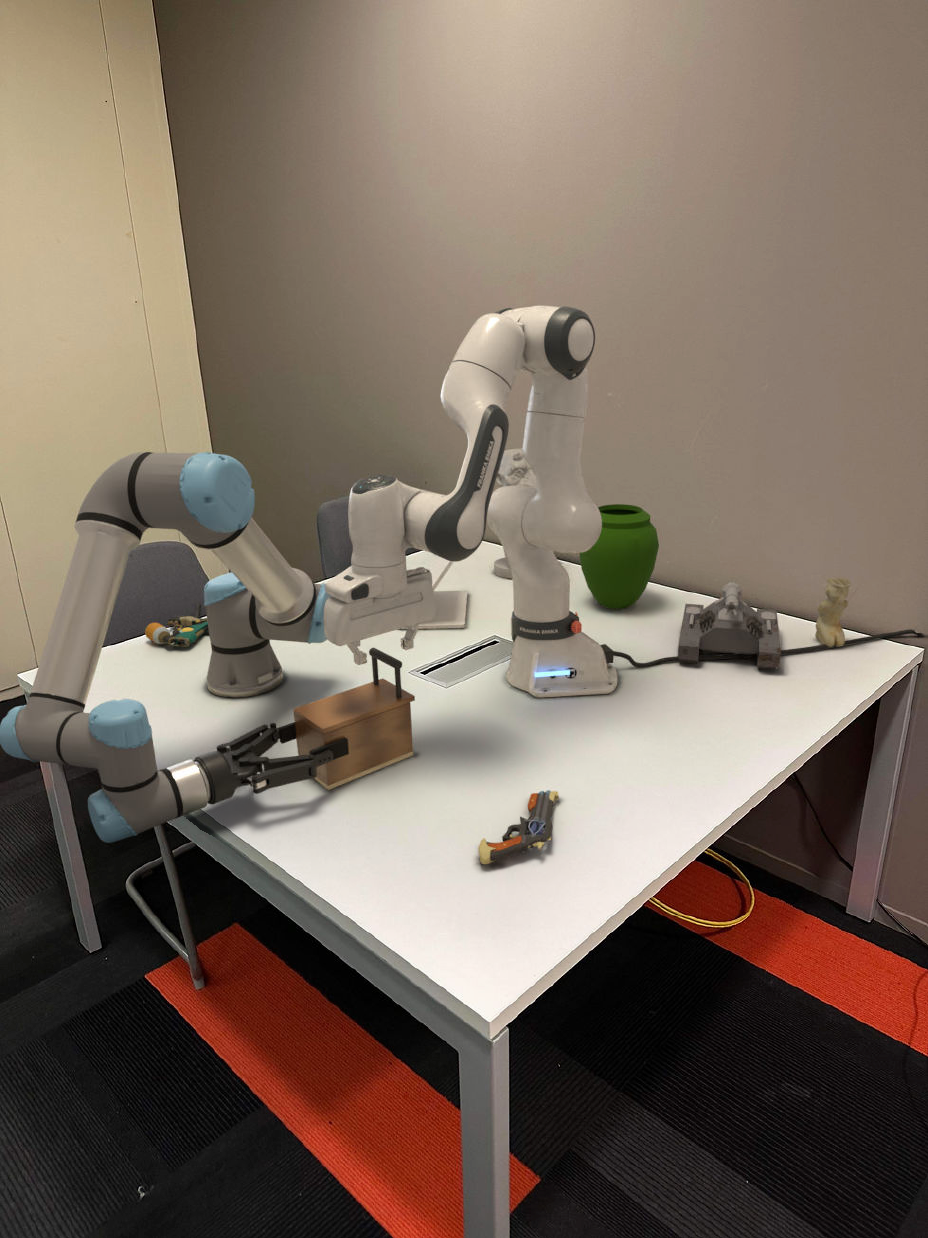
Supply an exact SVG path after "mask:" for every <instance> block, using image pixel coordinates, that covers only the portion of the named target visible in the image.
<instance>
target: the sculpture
mask: <svg viewBox="0 0 928 1238" xmlns="http://www.w3.org/2000/svg"><path fill="white" fill-rule="evenodd" d="M826 581H827V586H826V588H825V590H824V593H825V595H826V596H827V598H826V600H824V601H822V602H821V603H820V604H819V605H818V606H817V609H816V610H817V612H818V614H819V616H818V617H817V619H816V623H815V630H816V631H815V634H814V635H815V639H817V640H819V642H820V643H821V645H824V644H826V645H827V646H829V647H832V646H834V644H835V645H836V646H837V647H843V646H842V645H844V643H845V641H846V636H845V632H844V630H843V626H842V624H841V622H840V621H841V617H842V615H843V612H844V610H845V609H846V608H847V606H848V604H849V603H848V602H849V601H847V598H848V597H849V592H850V586H851V585H852V582H850V580H848V579H847V578H845V577H841V576H840V577H835V578H831V577H827V578H826ZM844 646H845V645H844ZM837 647H836V648H837ZM832 648H833V647H832Z"/></svg>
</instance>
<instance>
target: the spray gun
mask: <svg viewBox="0 0 928 1238" xmlns="http://www.w3.org/2000/svg"><path fill="white" fill-rule="evenodd" d="M195 616H196V615H190V614H189V615H181V616H179V615H177V616H172V617H170V618H169V619H168V622H167V626H173V630H172V634H171V632H170V630H169V629H168V628H167V627H166V626H164V625H162V624H161V623H159V622H151V623H149V624H148V625H147V626H146V628H145V630H144V634H145V636H146V638H147V639H148V640H150V641H152V642H153V643H155V644H157V645H164V644H168V645H169V646H170V647H183V648H184V647H185V648H188V647H189V646H190V645H191V644H193V643H194V642H195V641H197V640H198V638H200V636H202V635H204V634H206V633H205V632H206V630H208V631H209V628H208V622H207V617H204V618H201V617H195ZM185 626H187V627H185Z"/></svg>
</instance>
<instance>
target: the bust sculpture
mask: <svg viewBox="0 0 928 1238" xmlns="http://www.w3.org/2000/svg"><path fill="white" fill-rule="evenodd" d="M495 483H496V484H497V486H498V487H505V486H514V485H524V486H529V487H535V488H537V482H536V477H535V473H534V471H533V468H532V467H531V465H530V464H529V463H528V462H527V461H526V460H525V458H524V456H523V453H522V447H521V448H512V449H506V450H504V454H503V457H502V461H501V464H500V468H499V471H498V475H497V478H496V482H495ZM502 548H503V547H502ZM503 553H504V557H502V558H498V559H496V560H495V561H494V562H493V573H494V574H495V575H496V576H497V577H500V578H506V579H512V573H511V569H510V565H509V562H508V559H507V556H506V553H505V551H504V548H503Z"/></svg>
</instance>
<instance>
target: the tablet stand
mask: <svg viewBox="0 0 928 1238" xmlns="http://www.w3.org/2000/svg"><path fill="white" fill-rule="evenodd" d="M453 564H454V562H452V561H448V560H446V559H444V558H441V557H439V556H437V558H436V559H435V561H434V562H433V564H432V565H431V567H430V568H429V569H428V570H429V571H430V572H431V574H432V587H433V592H434V597H435V604H436V614H435V616H434V617H433V619H431V620H428V621H424V622H421V623H418V626H419V629H418V630H426V629H427V630H429V629H430V630H431V629H435V630H436V629H437V630H438V629H464V628H465V627H466V618H467V617H466V616H467V605H468V591H467V590H436V589H437V587H438V585H440V582H441V581H442V580H443V578H444V577H445V575H446V574H447V573H448V571H449V570H450V569H451V567H452V566H453ZM402 630H407V628H406V627H404V628H402Z"/></svg>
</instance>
